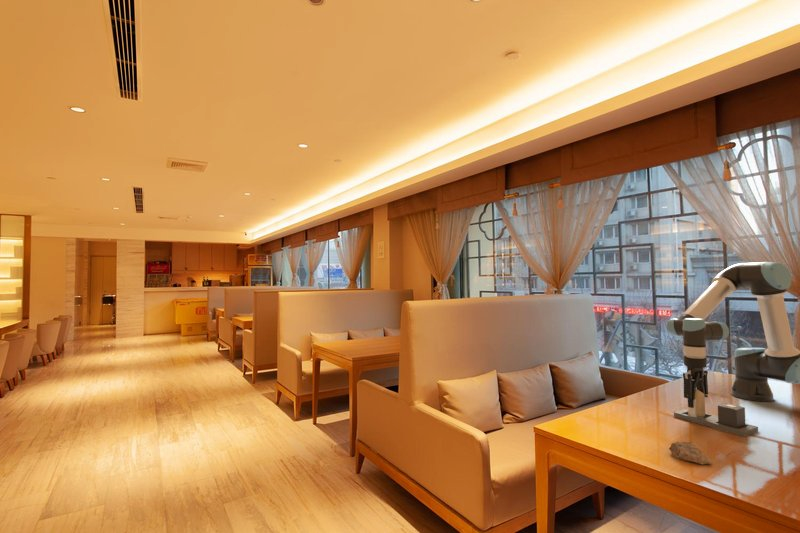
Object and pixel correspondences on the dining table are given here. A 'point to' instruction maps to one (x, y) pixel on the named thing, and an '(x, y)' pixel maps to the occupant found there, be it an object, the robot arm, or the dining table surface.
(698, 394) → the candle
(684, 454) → the rock
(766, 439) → the dining table surface
